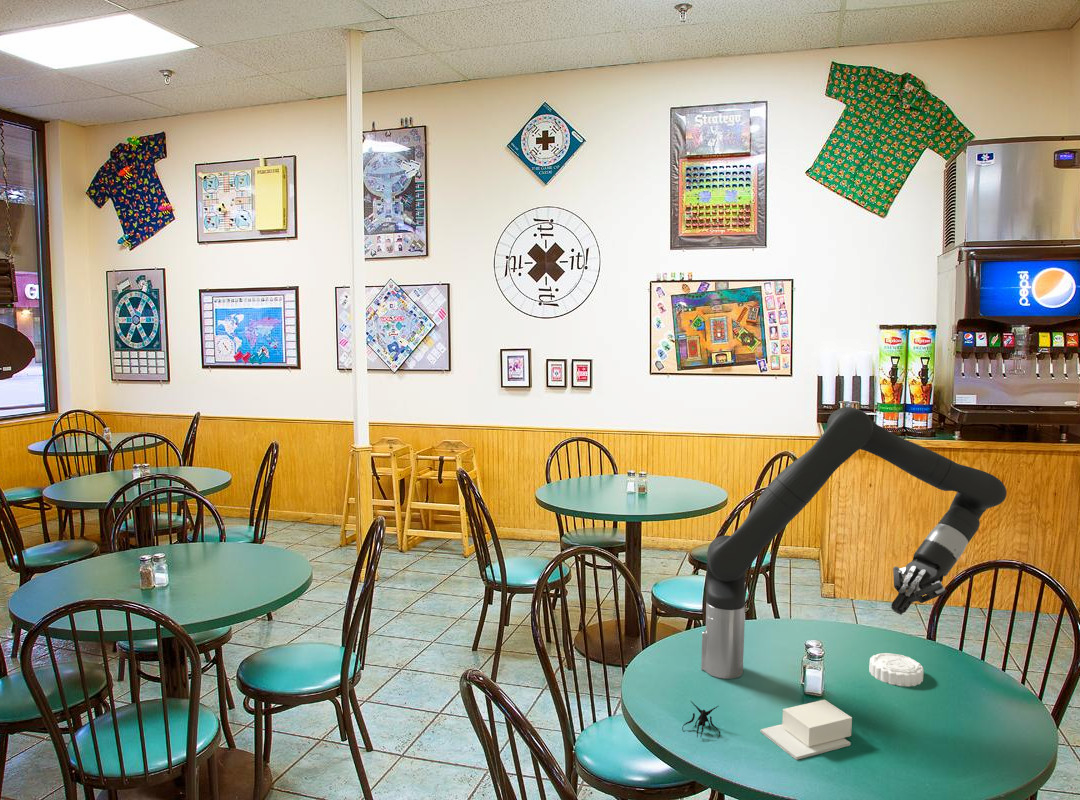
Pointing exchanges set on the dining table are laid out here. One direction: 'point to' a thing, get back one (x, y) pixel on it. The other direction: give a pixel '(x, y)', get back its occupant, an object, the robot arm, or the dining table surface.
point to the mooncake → (896, 669)
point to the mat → (799, 743)
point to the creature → (702, 720)
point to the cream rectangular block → (816, 722)
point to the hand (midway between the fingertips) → (896, 611)
